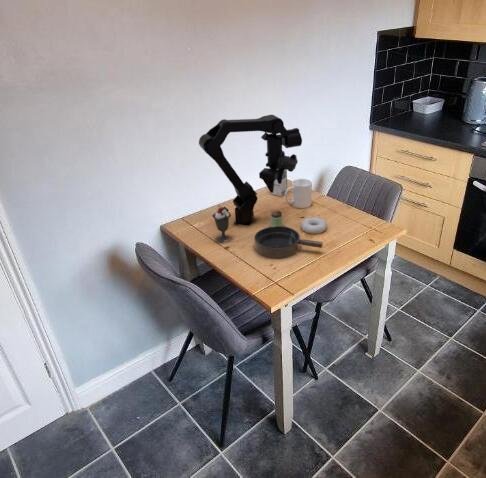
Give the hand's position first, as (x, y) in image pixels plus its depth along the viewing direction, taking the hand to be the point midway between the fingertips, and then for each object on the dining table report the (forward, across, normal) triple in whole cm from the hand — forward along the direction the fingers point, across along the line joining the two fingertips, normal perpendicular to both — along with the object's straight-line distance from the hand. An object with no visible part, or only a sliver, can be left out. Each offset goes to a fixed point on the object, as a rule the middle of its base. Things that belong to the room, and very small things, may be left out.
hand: (275, 187), depth 171 cm
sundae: (+12, -25, +12) cm, 30 cm away
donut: (+12, -7, -18) cm, 23 cm away
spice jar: (+12, -10, -4) cm, 16 cm away
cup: (+12, +12, -5) cm, 18 cm away
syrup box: (+12, +21, +7) cm, 26 cm away
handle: (+9, -24, -21) cm, 33 cm away
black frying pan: (+12, -24, -9) cm, 29 cm away
